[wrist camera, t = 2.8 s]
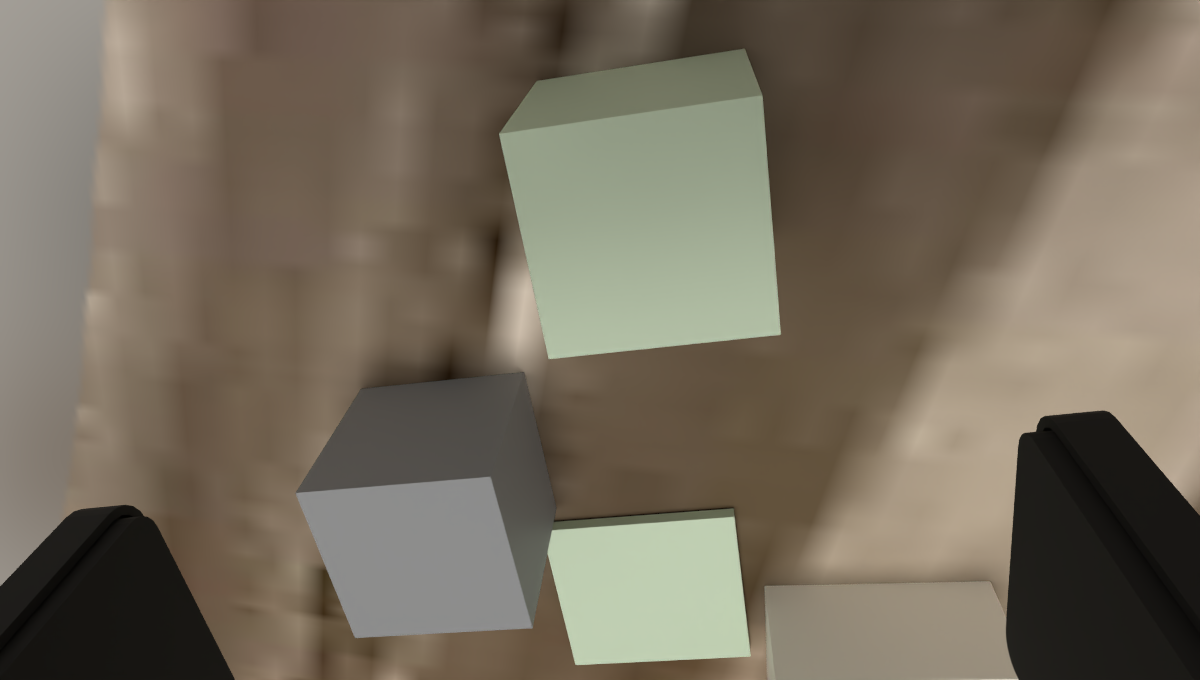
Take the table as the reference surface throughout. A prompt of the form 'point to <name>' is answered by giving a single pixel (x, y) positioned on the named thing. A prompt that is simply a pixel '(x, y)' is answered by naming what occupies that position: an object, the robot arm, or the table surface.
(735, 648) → the swatch
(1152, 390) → the table surface
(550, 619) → the table surface
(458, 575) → the gray cube
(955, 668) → the base block
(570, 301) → the sage cube
